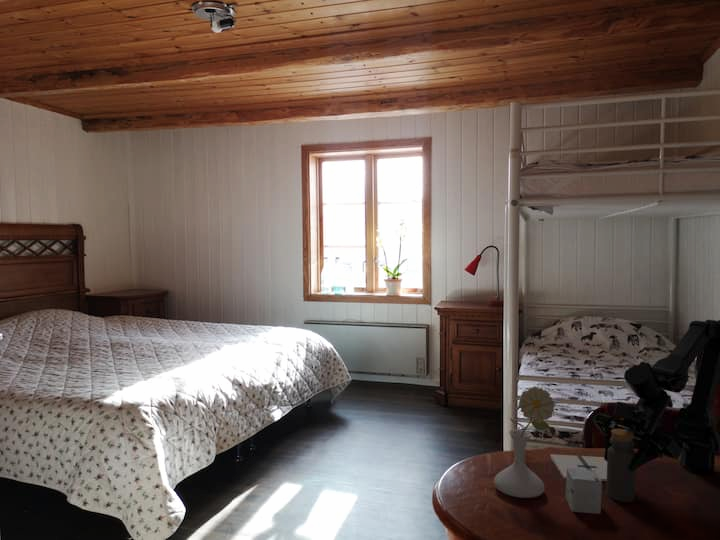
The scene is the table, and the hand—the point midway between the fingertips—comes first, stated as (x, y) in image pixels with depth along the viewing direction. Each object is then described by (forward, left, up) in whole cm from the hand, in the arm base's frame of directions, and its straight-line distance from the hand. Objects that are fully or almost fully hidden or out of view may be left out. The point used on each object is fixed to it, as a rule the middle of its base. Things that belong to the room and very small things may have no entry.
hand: (617, 465), depth 120 cm
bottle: (-1, -1, -8) cm, 8 cm away
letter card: (+2, -15, -8) cm, 17 cm away
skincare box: (+9, +5, -8) cm, 13 cm away
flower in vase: (+21, 0, -8) cm, 22 cm away
